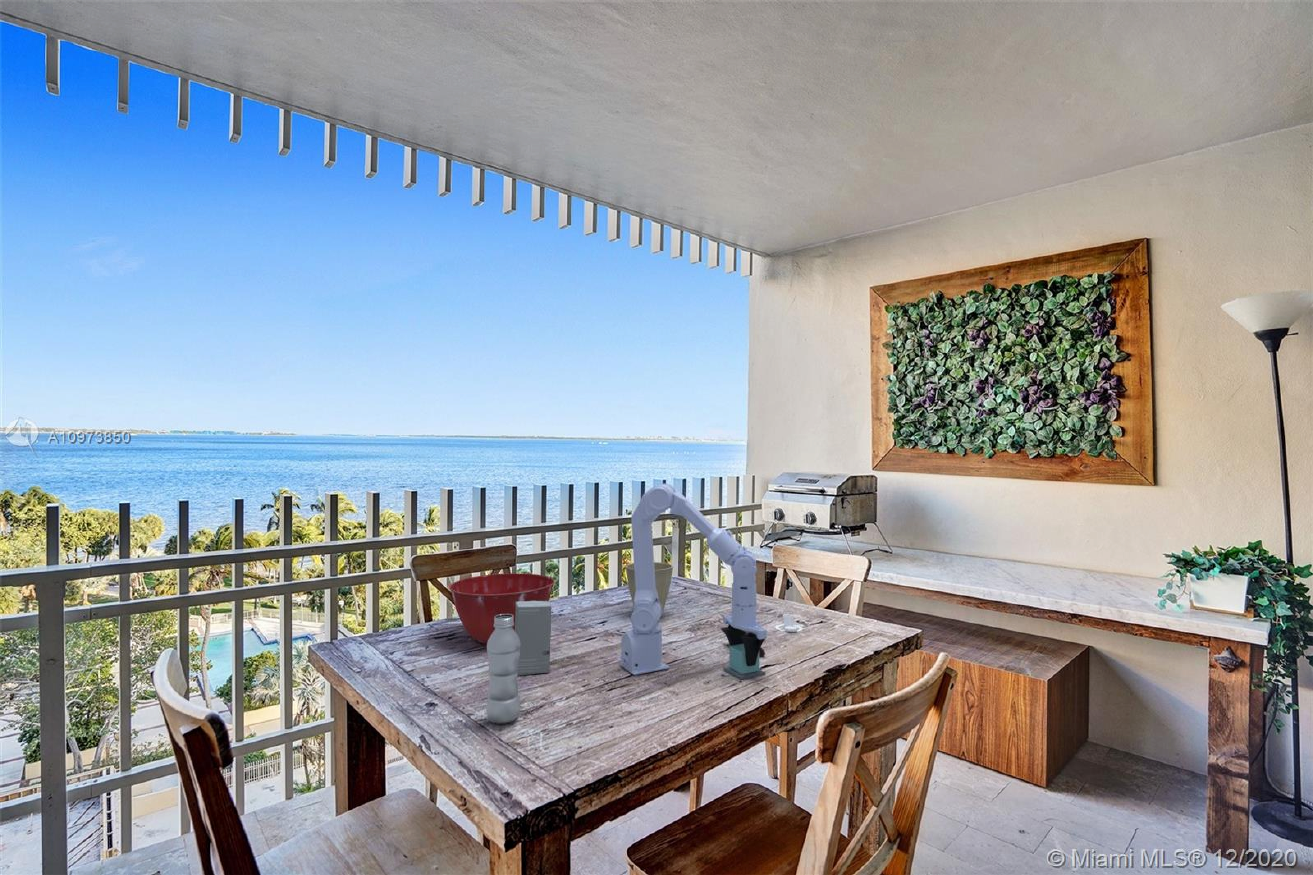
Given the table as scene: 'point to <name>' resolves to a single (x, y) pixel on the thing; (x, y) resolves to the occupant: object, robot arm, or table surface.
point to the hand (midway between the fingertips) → (744, 661)
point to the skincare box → (533, 636)
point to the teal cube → (740, 660)
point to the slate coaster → (743, 676)
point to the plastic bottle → (503, 671)
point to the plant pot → (661, 580)
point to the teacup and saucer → (789, 624)
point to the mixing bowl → (495, 599)
